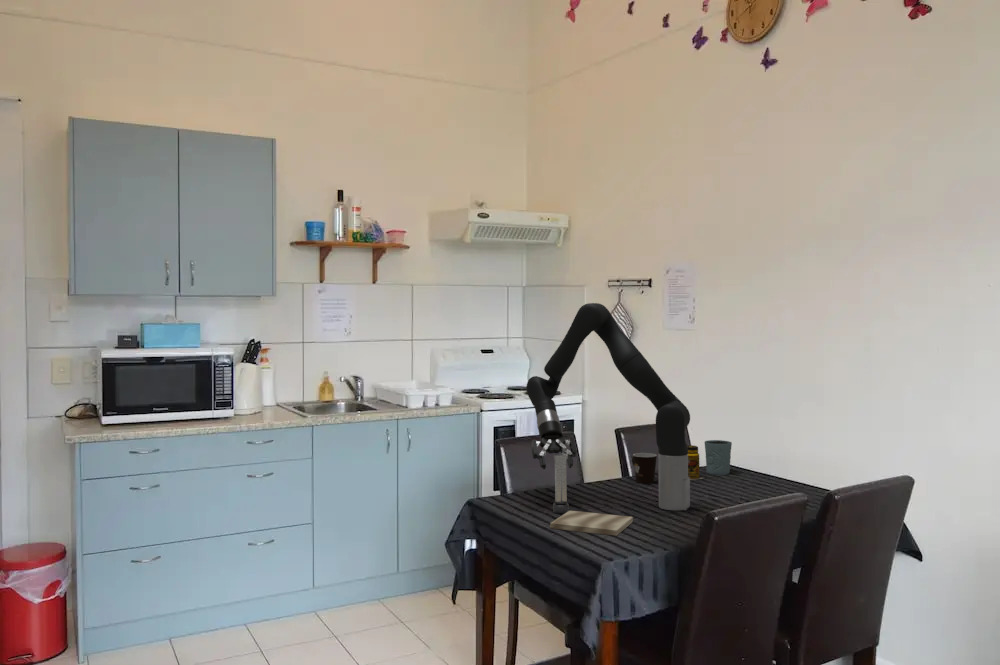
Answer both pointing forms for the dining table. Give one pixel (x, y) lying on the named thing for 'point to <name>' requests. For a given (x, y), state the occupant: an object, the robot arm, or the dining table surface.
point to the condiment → (693, 463)
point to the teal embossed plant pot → (718, 457)
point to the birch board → (592, 522)
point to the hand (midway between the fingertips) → (557, 467)
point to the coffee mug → (644, 467)
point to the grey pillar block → (560, 485)
